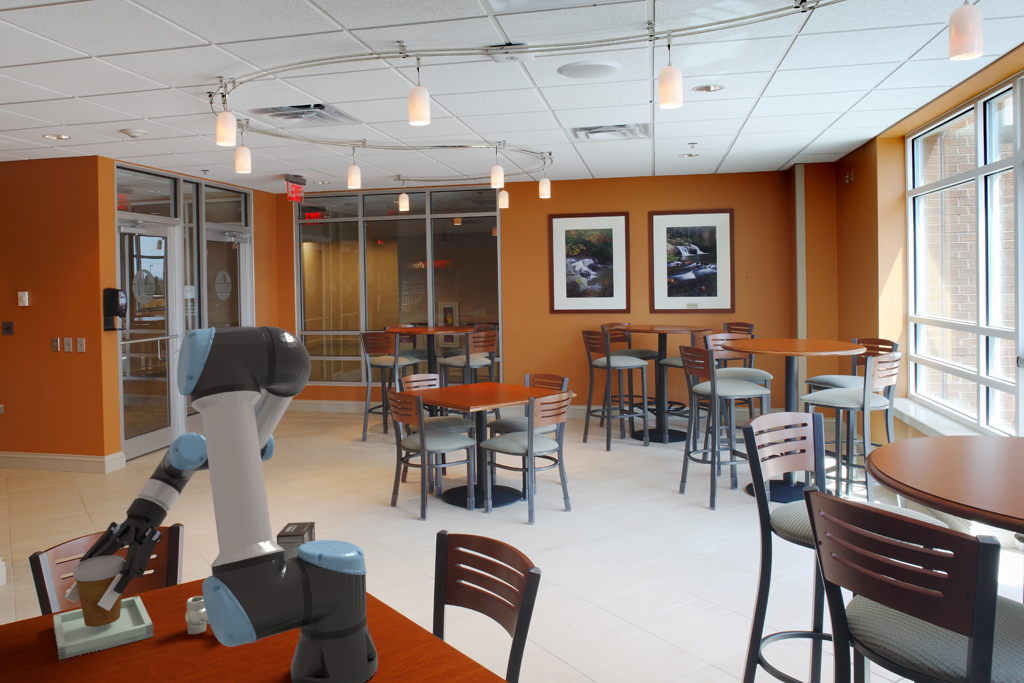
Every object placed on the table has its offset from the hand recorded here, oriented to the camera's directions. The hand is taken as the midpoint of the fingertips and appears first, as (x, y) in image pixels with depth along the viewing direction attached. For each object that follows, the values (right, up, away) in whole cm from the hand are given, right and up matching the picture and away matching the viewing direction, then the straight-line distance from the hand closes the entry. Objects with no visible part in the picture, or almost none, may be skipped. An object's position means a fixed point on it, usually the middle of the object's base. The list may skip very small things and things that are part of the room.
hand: (86, 603), depth 141 cm
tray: (+1, -7, +3) cm, 8 cm away
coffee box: (+37, -6, +19) cm, 42 cm away
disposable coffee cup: (+1, -5, +3) cm, 6 cm away
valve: (+25, -7, +3) cm, 26 cm away
